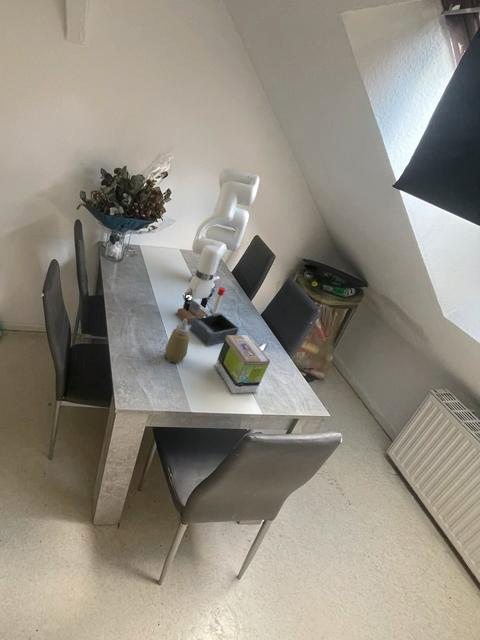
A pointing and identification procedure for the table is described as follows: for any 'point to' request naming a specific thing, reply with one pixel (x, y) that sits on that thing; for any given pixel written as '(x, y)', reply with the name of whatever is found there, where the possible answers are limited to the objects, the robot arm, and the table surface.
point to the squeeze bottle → (178, 343)
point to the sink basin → (213, 328)
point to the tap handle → (194, 307)
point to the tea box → (241, 363)
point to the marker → (218, 300)
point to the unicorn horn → (262, 347)
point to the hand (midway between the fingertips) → (194, 307)
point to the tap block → (190, 315)
